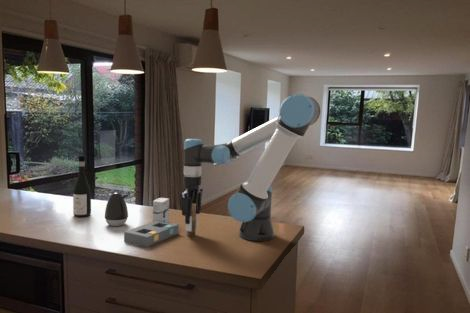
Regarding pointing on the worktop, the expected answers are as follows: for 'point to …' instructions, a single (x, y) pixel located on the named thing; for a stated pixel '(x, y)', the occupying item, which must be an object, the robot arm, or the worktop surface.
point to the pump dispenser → (116, 210)
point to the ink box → (161, 209)
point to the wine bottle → (81, 192)
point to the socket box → (150, 233)
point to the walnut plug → (193, 220)
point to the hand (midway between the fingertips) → (191, 229)
